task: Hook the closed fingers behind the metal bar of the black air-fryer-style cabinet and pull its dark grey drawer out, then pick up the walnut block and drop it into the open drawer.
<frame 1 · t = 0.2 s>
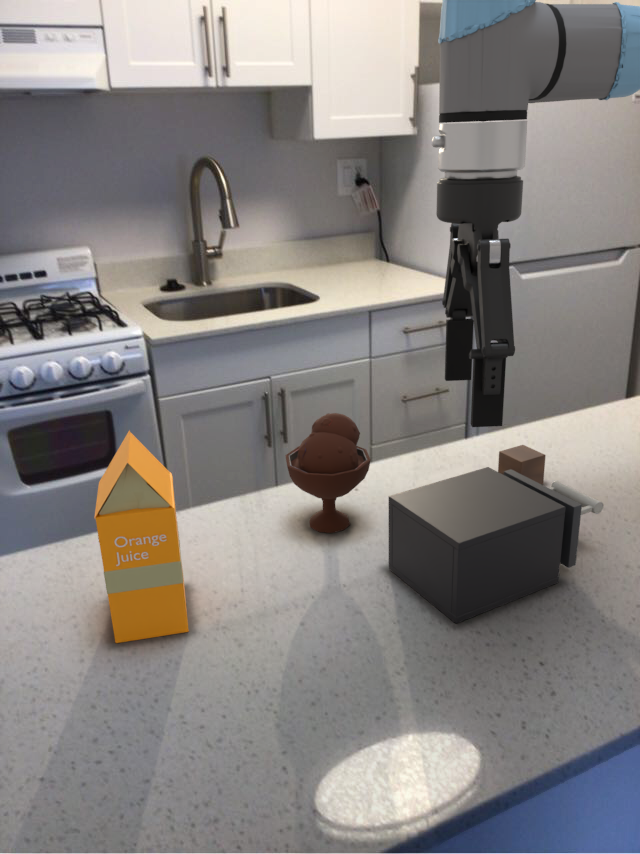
hand: (470, 400, 75), 23 cm above the worktop, tool pointing down, fingers open, 13 cm apart
dark grey drawer: (519, 523, 89), point 5 cm above the worktop, slide at 2.0 cm
ice cream bowl: (329, 524, 100), on the worktop
block: (520, 482, 110), on the worktop
fryer: (471, 575, 87), on the worktop
orange juice: (151, 615, 83), on the worktop
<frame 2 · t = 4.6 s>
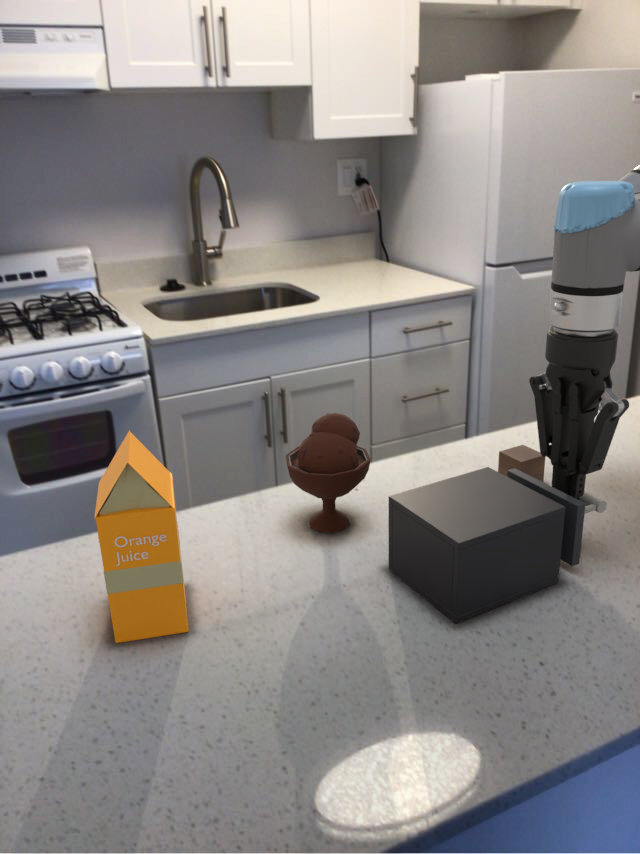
hand: (564, 516, 92), 4 cm above the worktop, tool pointing down, fingers closed
dark grey drawer: (523, 522, 89), point 5 cm above the worktop, slide at 2.6 cm, touching gripper
everything else where it was.
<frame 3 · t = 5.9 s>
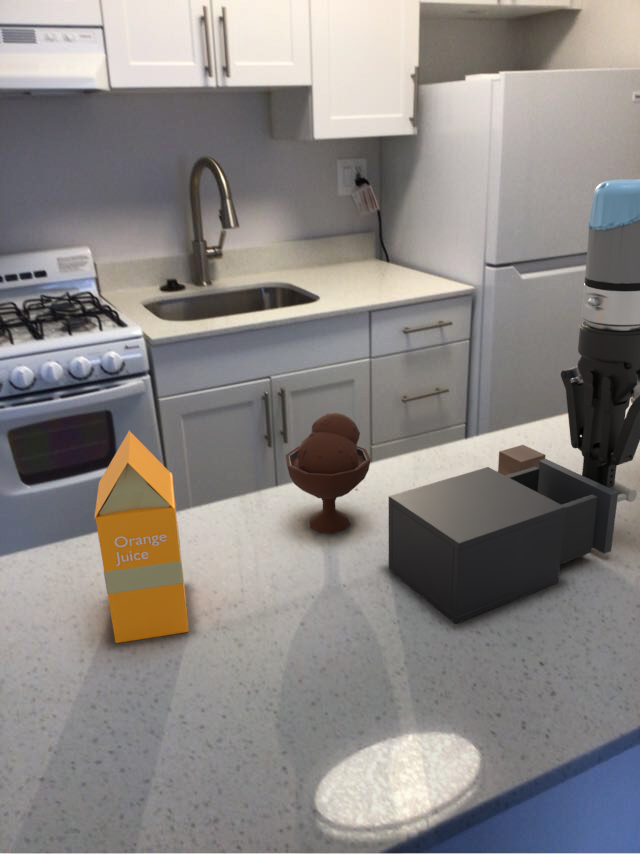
hand: (595, 507, 95), 3 cm above the worktop, tool pointing down, fingers closed
dark grey drawer: (555, 510, 91), point 5 cm above the worktop, slide at 7.8 cm
everything else where it was.
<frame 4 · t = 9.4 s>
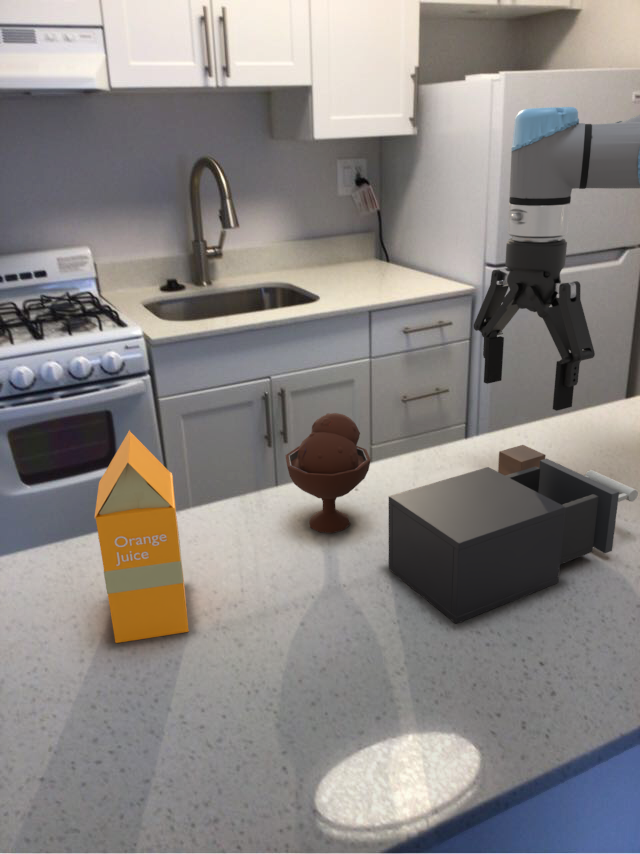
hand: (525, 394, 105), 13 cm above the worktop, tool pointing down, fingers open, 13 cm apart
nothing on the worktop moved.
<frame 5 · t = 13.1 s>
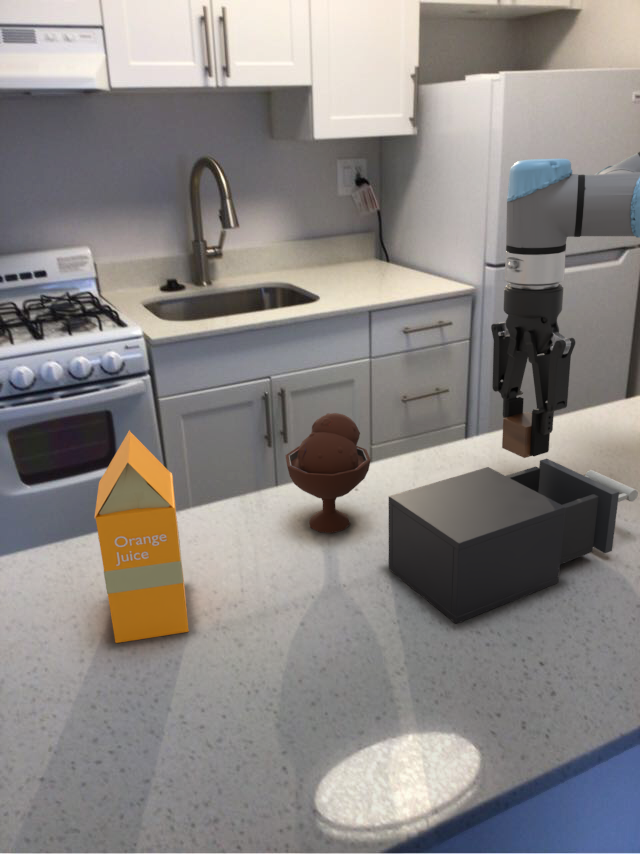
hand: (525, 447, 108), 6 cm above the worktop, tool pointing down, fingers closed on block, 5 cm apart
block: (525, 449, 108), point 5 cm above the worktop, touching gripper
everything else where it was.
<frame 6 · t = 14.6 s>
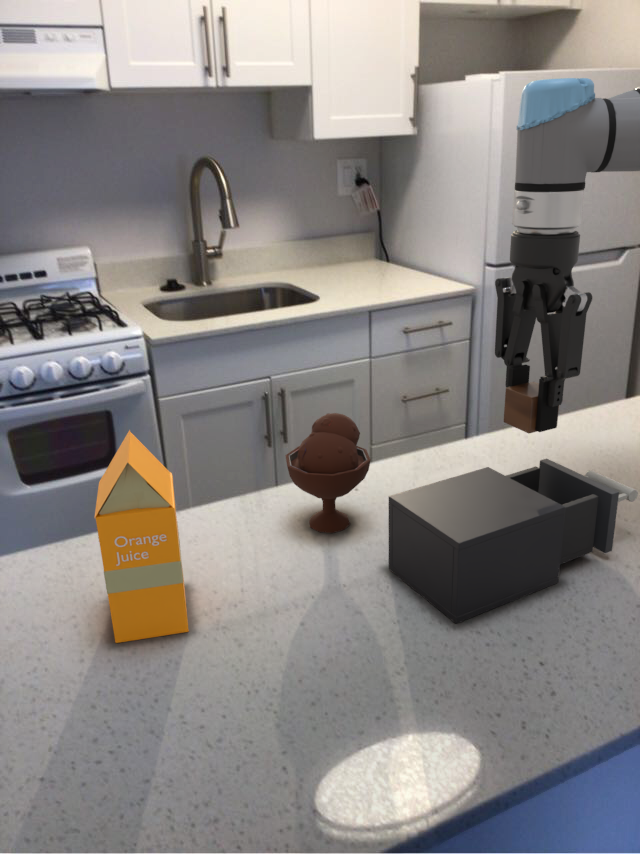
hand: (530, 422, 94), 14 cm above the worktop, tool pointing down, fingers closed on block, 5 cm apart
block: (529, 424, 94), point 14 cm above the worktop, touching gripper
everything else where it was.
when the fingers open (10 cm above the worktop, at t = 16.5 s): block drops 5 cm and tips over, resting on dark grey drawer.
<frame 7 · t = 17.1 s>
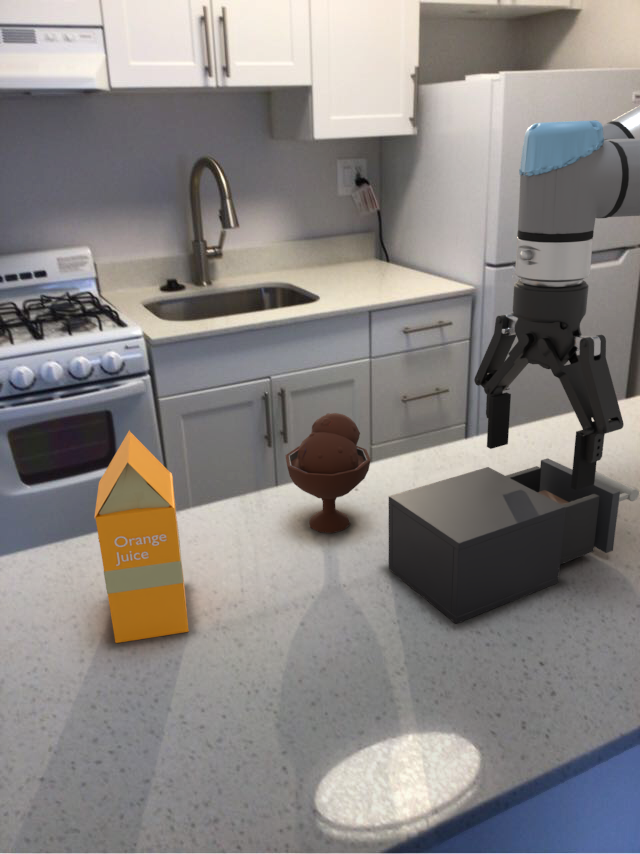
hand: (537, 464, 87), 12 cm above the worktop, tool pointing down, fingers open, 13 cm apart
dark grey drawer: (557, 510, 91), point 5 cm above the worktop, slide at 8.1 cm, touching block
block: (528, 523, 89), point 4 cm above the worktop, tilted 90°, touching dark grey drawer
everything else where it was.
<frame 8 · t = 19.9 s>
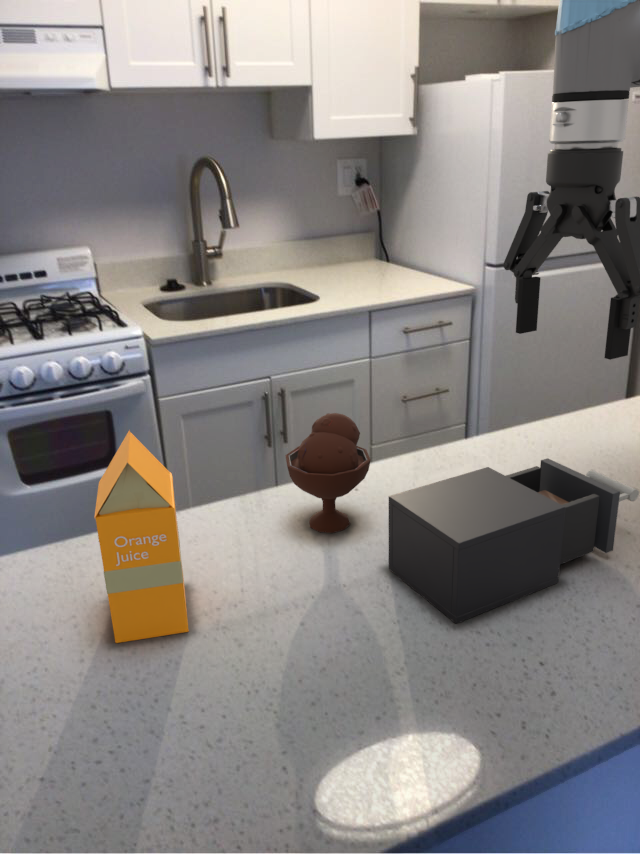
hand: (568, 343, 87), 25 cm above the worktop, tool pointing down, fingers open, 13 cm apart
nothing on the worktop moved.
at the end: dark grey drawer slide at 8.1 cm; block inside the target area in the dark grey drawer (1.5 cm from its centre), point 4.3 cm above the fryer's base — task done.
